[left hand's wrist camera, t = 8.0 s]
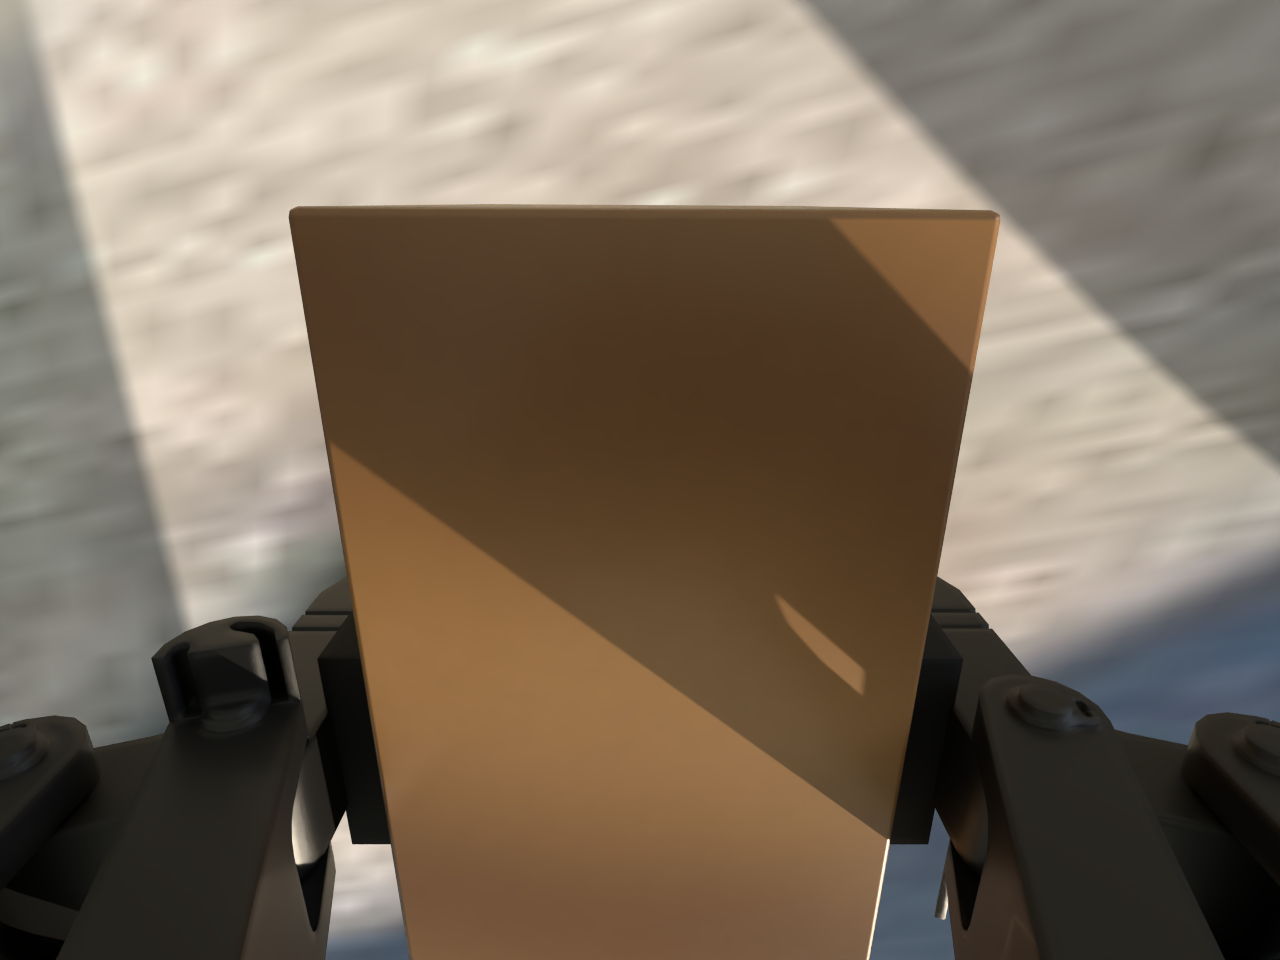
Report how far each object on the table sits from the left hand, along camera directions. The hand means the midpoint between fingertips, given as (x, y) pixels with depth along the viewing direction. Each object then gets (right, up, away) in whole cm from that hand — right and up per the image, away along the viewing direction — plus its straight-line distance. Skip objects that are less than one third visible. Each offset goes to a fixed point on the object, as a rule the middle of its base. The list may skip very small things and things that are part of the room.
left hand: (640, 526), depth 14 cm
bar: (0, -26, +11) cm, 28 cm away
